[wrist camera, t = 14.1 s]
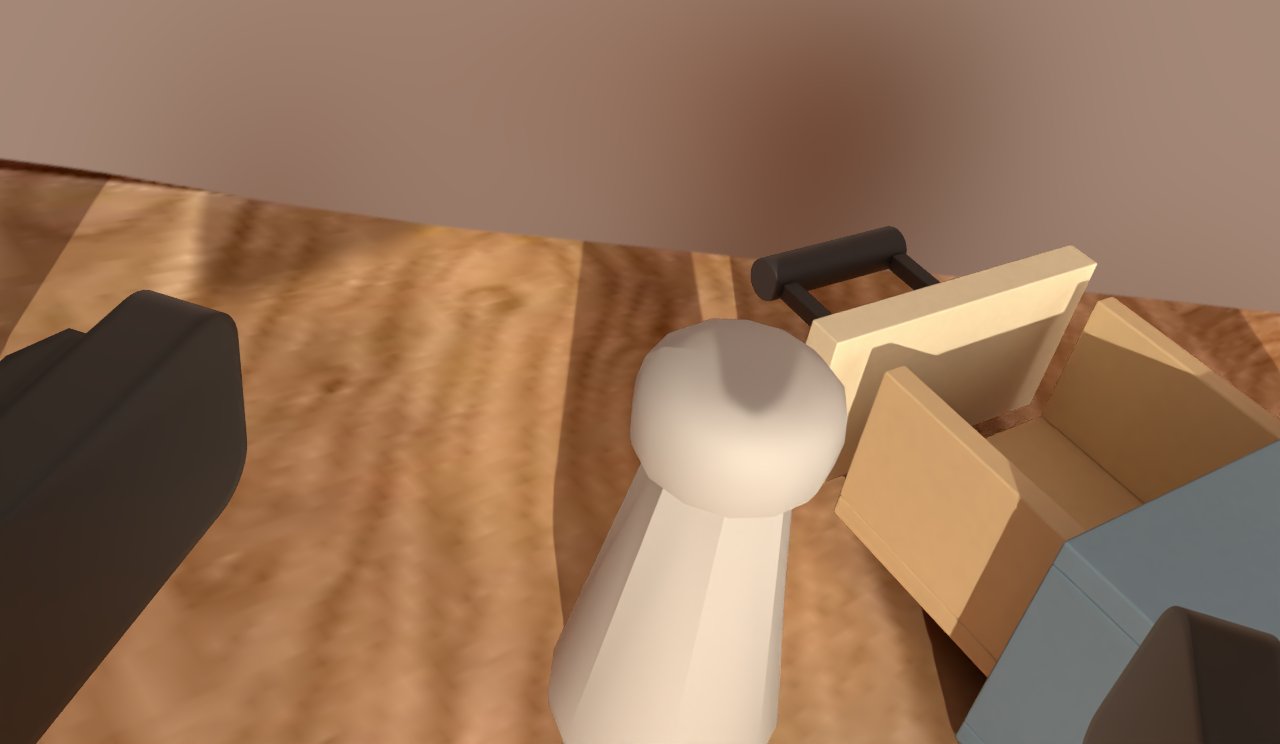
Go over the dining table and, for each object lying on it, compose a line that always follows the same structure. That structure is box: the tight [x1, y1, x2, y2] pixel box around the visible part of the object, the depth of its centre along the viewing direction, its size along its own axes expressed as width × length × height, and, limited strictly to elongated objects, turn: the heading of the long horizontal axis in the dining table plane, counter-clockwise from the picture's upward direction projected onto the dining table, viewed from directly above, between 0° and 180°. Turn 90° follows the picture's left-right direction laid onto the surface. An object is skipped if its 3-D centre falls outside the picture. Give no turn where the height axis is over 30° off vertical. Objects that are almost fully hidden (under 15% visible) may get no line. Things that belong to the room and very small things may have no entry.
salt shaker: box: [548, 319, 848, 744], centre depth 27 cm, size 6×6×13 cm
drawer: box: [751, 226, 1280, 678], centre depth 37 cm, size 19×11×6 cm, turn 32°
